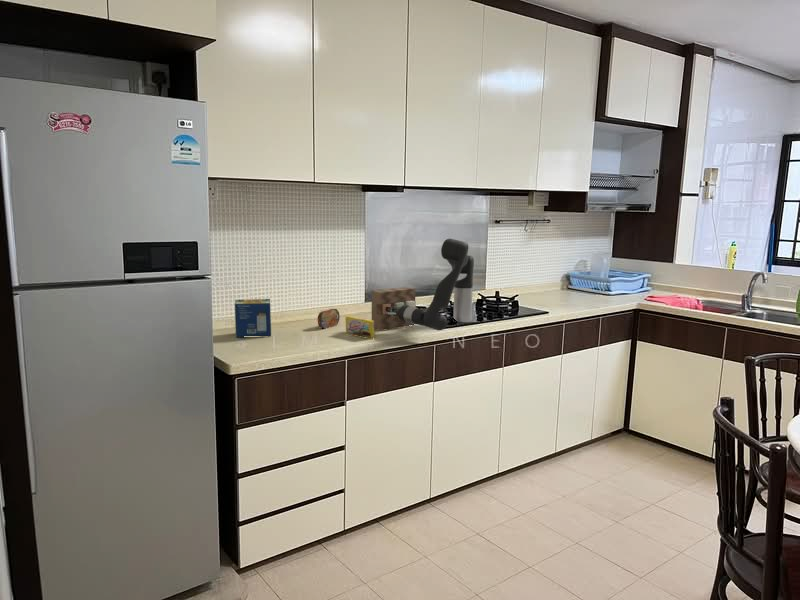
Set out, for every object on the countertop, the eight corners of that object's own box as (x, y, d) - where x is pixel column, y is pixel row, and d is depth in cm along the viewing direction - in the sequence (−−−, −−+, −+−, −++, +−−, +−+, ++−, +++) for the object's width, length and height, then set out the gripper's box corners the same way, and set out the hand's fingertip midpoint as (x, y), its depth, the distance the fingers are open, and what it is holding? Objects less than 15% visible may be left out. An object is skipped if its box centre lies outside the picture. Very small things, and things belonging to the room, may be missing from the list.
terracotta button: (386, 312, 279) (387, 302, 278) (390, 313, 277) (390, 303, 276) (379, 313, 276) (379, 303, 276) (383, 314, 274) (383, 304, 273)
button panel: (405, 322, 293) (406, 286, 290) (414, 325, 288) (415, 288, 285) (371, 328, 280) (371, 290, 277) (380, 330, 275) (380, 292, 272)
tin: (321, 330, 275) (321, 312, 274) (316, 329, 277) (316, 311, 275) (340, 324, 288) (340, 307, 287) (335, 323, 290) (334, 306, 288)
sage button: (400, 310, 282) (400, 301, 282) (404, 311, 280) (404, 302, 279) (393, 311, 280) (393, 302, 279) (397, 312, 277) (397, 303, 277)
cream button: (411, 309, 287) (411, 300, 286) (415, 310, 284) (415, 301, 283) (404, 310, 284) (404, 301, 283) (408, 311, 282) (408, 302, 281)
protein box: (236, 333, 268) (235, 299, 265) (271, 331, 271) (270, 298, 268) (235, 338, 258) (234, 303, 255) (271, 337, 261) (270, 302, 258)
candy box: (345, 334, 268) (345, 316, 267) (348, 333, 270) (348, 315, 268) (371, 339, 258) (371, 321, 256) (374, 338, 259) (374, 320, 258)
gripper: (422, 304, 265) (398, 299, 279) (399, 308, 257) (375, 302, 270) (421, 321, 266) (398, 315, 280) (398, 324, 258) (375, 318, 272)
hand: (387, 308), depth 275 cm, fingers closed
